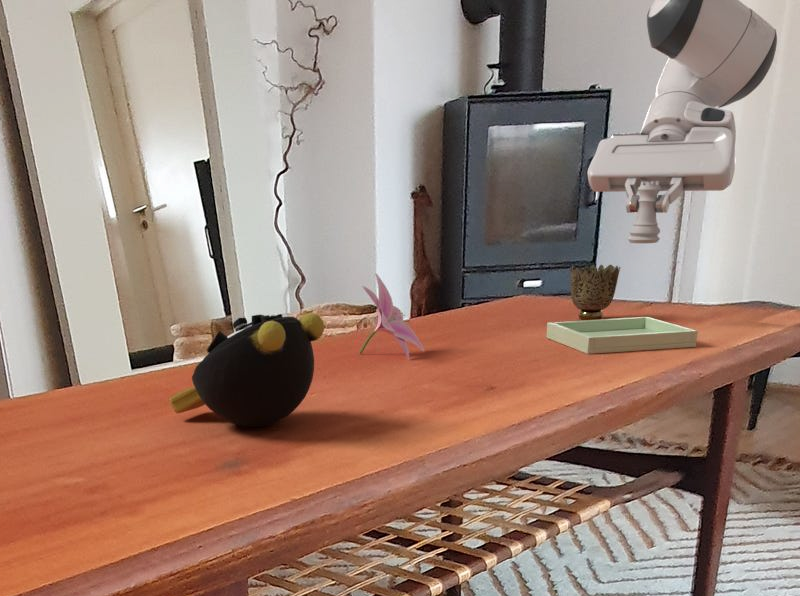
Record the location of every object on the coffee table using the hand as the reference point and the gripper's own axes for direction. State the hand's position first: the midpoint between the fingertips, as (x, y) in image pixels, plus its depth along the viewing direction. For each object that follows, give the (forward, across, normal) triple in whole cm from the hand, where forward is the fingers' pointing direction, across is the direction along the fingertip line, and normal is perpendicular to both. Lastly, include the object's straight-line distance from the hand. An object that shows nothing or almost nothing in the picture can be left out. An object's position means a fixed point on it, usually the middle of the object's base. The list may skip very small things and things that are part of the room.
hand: (646, 209), depth 138 cm
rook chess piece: (+3, 0, +4) cm, 5 cm away
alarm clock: (+64, -18, -41) cm, 78 cm away
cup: (+8, -8, +15) cm, 19 cm away
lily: (+36, -23, -13) cm, 44 cm away
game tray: (+21, +2, +2) cm, 21 cm away
